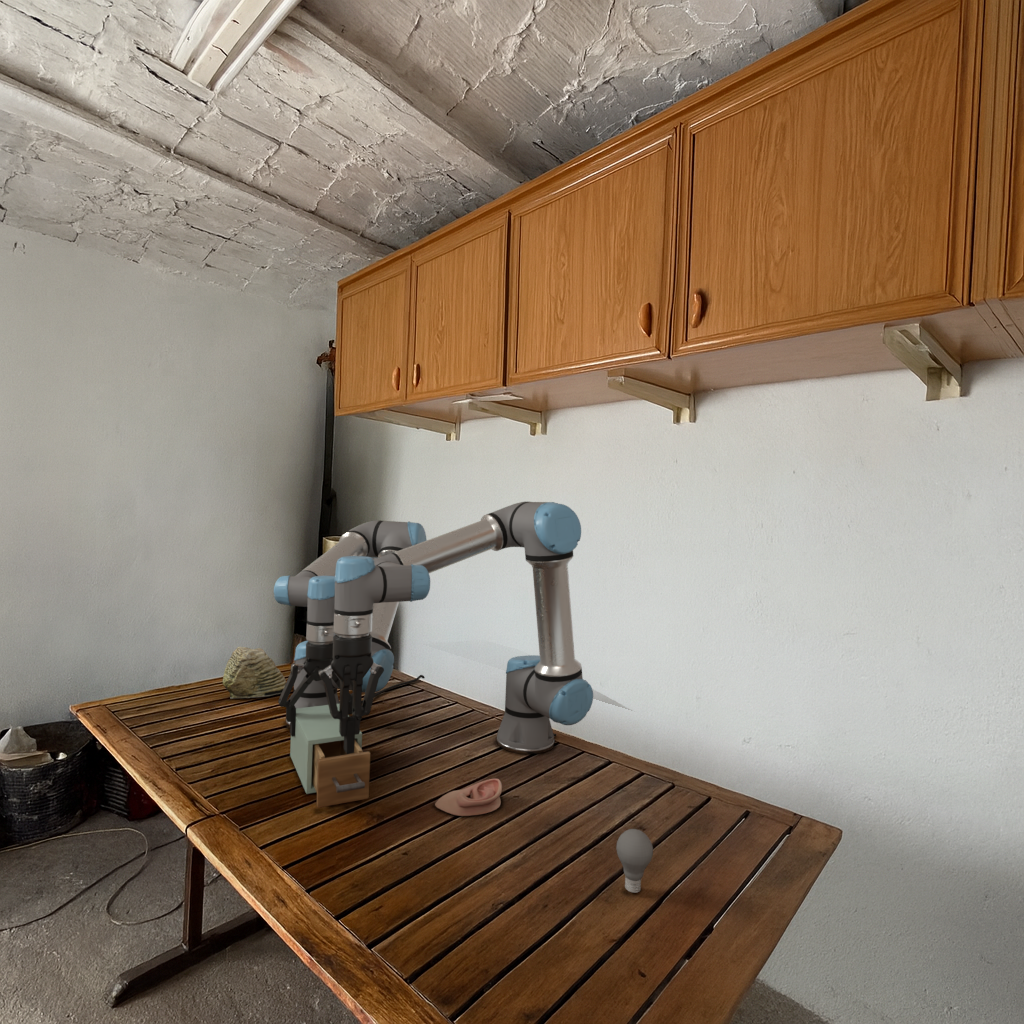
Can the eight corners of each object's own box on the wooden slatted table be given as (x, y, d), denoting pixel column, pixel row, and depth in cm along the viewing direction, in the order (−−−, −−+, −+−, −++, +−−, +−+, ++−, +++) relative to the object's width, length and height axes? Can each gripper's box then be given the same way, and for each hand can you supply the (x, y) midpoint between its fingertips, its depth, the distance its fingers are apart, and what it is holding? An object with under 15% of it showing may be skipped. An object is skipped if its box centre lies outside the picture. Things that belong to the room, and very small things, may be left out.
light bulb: (610, 879, 108) (613, 822, 108) (644, 879, 109) (647, 822, 109) (619, 902, 102) (622, 840, 102) (655, 901, 103) (658, 840, 103)
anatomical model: (430, 792, 129) (447, 769, 140) (429, 811, 129) (446, 787, 140) (494, 801, 126) (506, 777, 137) (493, 821, 126) (505, 795, 138)
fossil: (218, 695, 195) (220, 647, 195) (278, 685, 208) (279, 640, 207) (228, 703, 189) (230, 653, 188) (289, 692, 201) (290, 645, 201)
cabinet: (360, 784, 140) (362, 733, 140) (306, 794, 135) (308, 740, 134) (338, 748, 159) (339, 703, 159) (290, 755, 154) (291, 708, 153)
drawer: (376, 810, 127) (377, 763, 127) (323, 821, 122) (325, 772, 122) (345, 760, 150) (347, 721, 150) (300, 768, 145) (301, 726, 145)
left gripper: (271, 648, 143) (268, 743, 143) (375, 641, 154) (372, 729, 155) (267, 641, 150) (264, 732, 150) (367, 634, 161) (364, 719, 161)
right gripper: (323, 640, 120) (319, 763, 121) (390, 635, 126) (386, 752, 127) (315, 632, 127) (311, 748, 127) (379, 628, 133) (375, 739, 133)
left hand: (319, 731), depth 152 cm, fingers closed on cabinet, 12 cm apart
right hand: (348, 750), depth 127 cm, fingers closed
